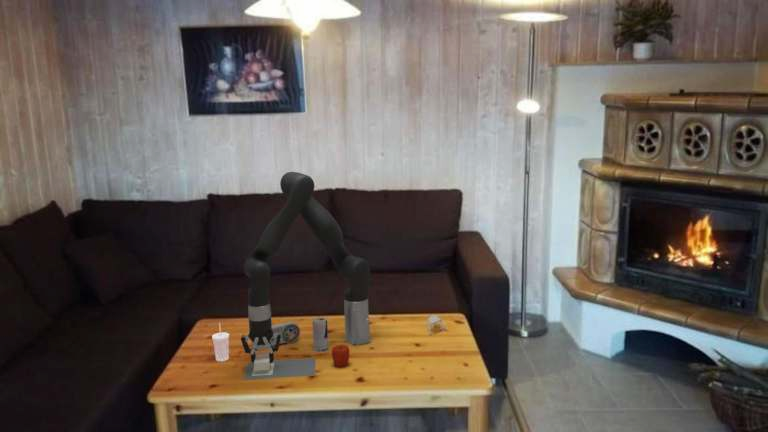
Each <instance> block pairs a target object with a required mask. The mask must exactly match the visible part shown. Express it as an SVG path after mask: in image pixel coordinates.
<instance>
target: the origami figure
mask: <svg viewBox="0 0 768 432" xmlns="http://www.w3.org/2000/svg"><path fill="white" fill-rule="evenodd" d="M428 323H429V324H430V326H428V325H427V324H428ZM437 323H441V324H442V325H443V326H441V327H439V330H441V331H442V332H443V331H444V330H443V329H444V328H446V327H447V325H446V324H445V323H444V322H443V319H441V318H440V317H438V316H437V315H436V314H433V315H431V316H430V317H429V318H427V320H426V322H425V323H424V325H425V326H426V328H427V332H428V333H429V335H430V336H431V335H432V333H433V332H432V331H430V330H431V328H432V326H433V325H434V326H436V327H438V325H437Z"/></svg>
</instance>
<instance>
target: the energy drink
mask: <svg viewBox="0 0 768 432" xmlns="http://www.w3.org/2000/svg"><path fill="white" fill-rule="evenodd" d="M328 332H329V331H328V320H327V318H325V317H315V318H314V319H313V320H312V333H313V334H312V335H313V336H312V337H313V350H314V351H315V352H316V353H317V352H318V353H320V352H321V353H322V352H323V353H324V352H326V351H328V350H329V333H328Z"/></svg>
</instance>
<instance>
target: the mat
mask: <svg viewBox="0 0 768 432" xmlns="http://www.w3.org/2000/svg"><path fill="white" fill-rule="evenodd" d="M245 368H246V369H245V373H244V376H243V381H247V380H263V379H276V378H277V379H278V378H292V377H293V378H295V377H308V376H311V377H312V376H316V357H310V358H309V357H308V358H297V359H295V358H292V359H281V360H280V359H278V360H277V359H276V360H273V362H272V363H271V364H270V369H269V370H261V371H254V364H253V363H252V362H251V361H249V362H248V361H247V365H246V367H245Z"/></svg>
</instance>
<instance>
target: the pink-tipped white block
mask: <svg viewBox="0 0 768 432" xmlns="http://www.w3.org/2000/svg"><path fill="white" fill-rule="evenodd" d="M255 353H256V357H255V360H254V371H261V370H269V369H270V364H271V363H270V358H269V351H268V352H255Z"/></svg>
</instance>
